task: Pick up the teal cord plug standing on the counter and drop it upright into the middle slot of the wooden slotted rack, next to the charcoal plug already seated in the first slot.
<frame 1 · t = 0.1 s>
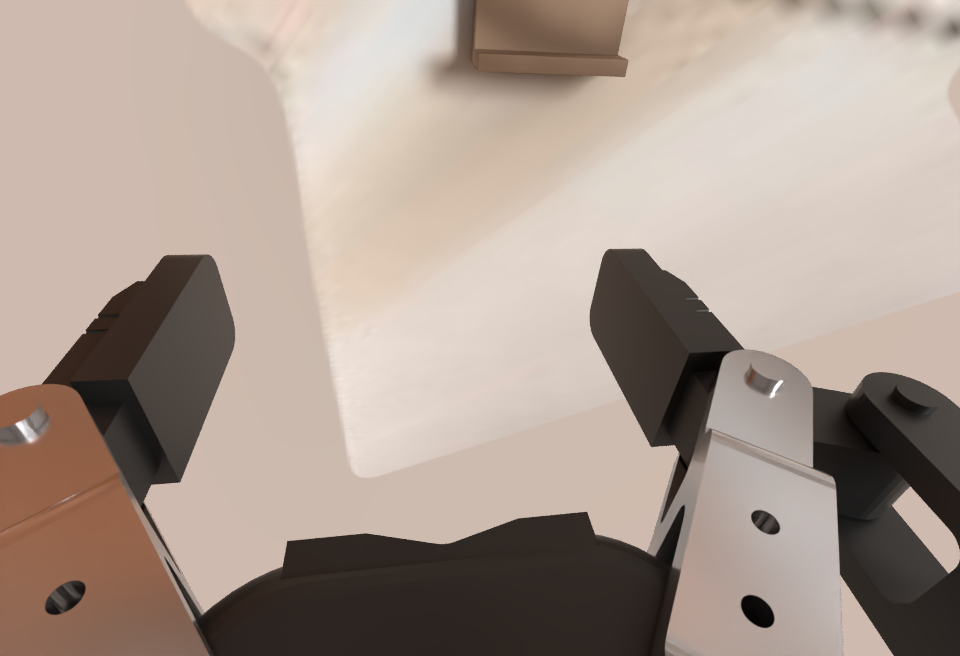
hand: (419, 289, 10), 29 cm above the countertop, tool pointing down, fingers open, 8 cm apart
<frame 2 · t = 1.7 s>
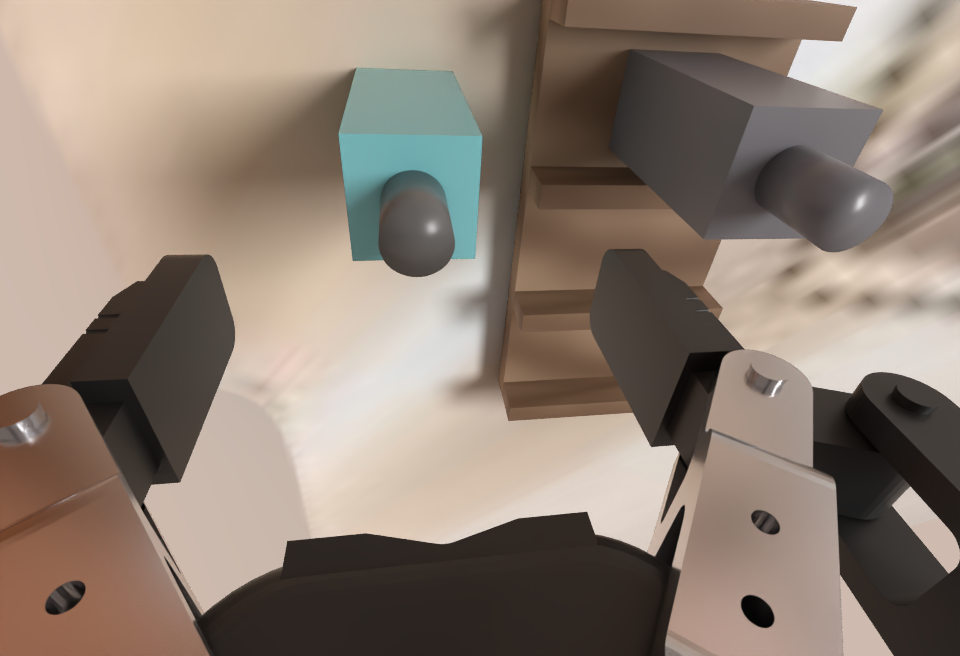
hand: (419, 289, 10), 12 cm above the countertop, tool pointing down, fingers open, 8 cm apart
teal plug: (406, 119, 20), on the countertop
wooden slotted rack: (615, 230, 24), on the countertop
charcoal plug: (661, 102, 19), point 1 cm above the countertop, touching wooden slotted rack
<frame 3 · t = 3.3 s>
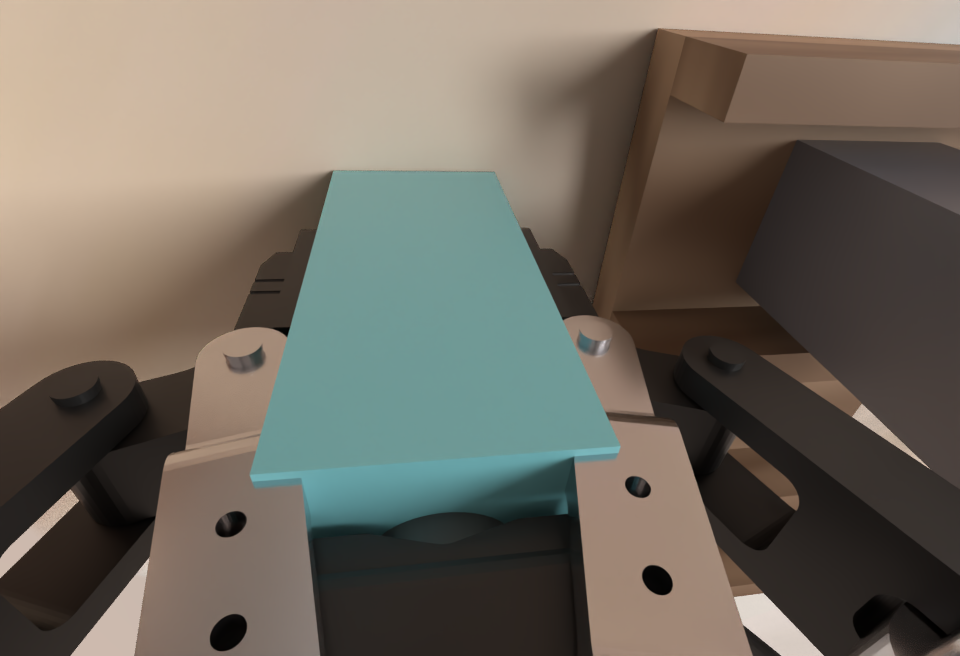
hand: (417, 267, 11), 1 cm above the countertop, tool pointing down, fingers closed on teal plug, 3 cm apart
teal plug: (417, 243, 12), on the countertop, touching gripper
wooden slotted rack: (716, 372, 17), on the countertop
charcoal plug: (830, 216, 12), point 1 cm above the countertop, touching wooden slotted rack
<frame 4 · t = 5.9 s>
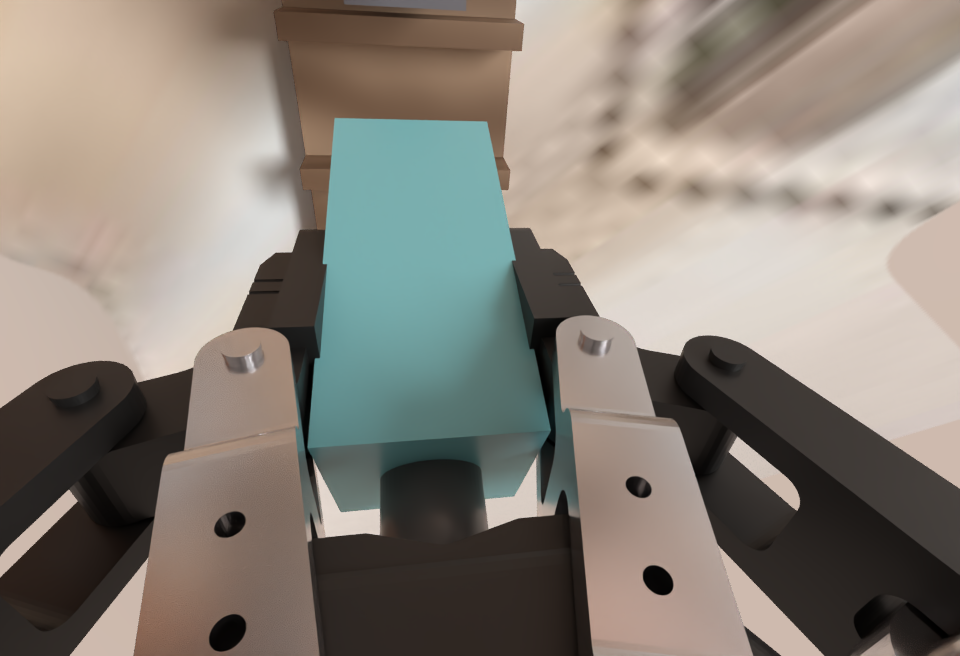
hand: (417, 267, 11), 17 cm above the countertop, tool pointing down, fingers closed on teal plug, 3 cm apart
teal plug: (413, 180, 13), point 14 cm above the countertop, tilted 19°, touching gripper
wooden slotted rack: (404, 95, 25), on the countertop
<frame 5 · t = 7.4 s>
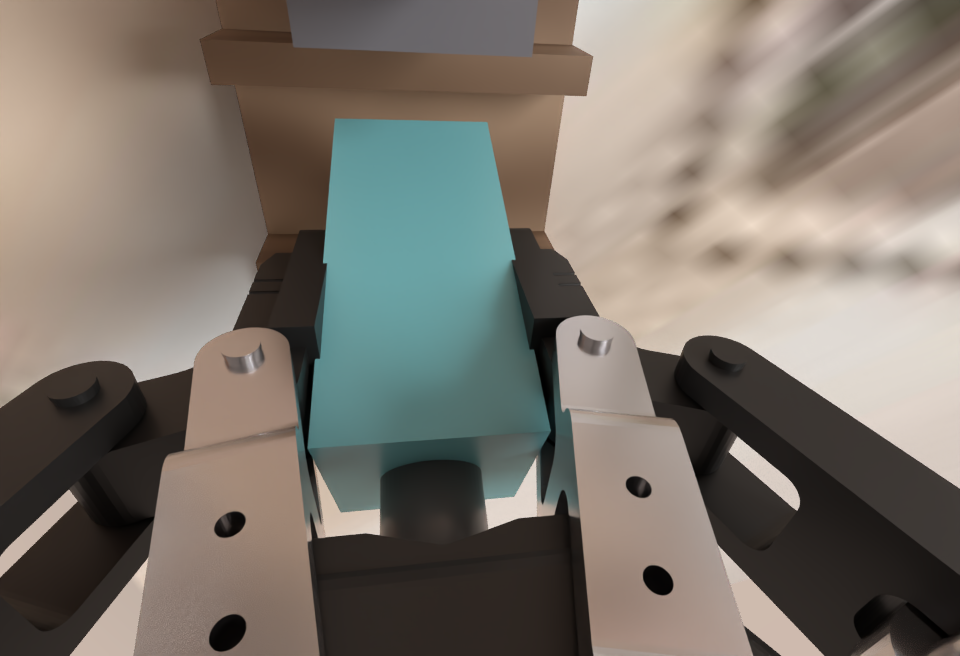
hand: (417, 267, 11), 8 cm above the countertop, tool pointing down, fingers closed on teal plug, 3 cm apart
teal plug: (413, 181, 13), point 5 cm above the countertop, tilted 18°, touching gripper
wooden slotted rack: (408, 149, 17), on the countertop
when the fingers open (4 cm above the countertop, at t = 8.5 s): teal plug stays where it is, resting on wooden slotted rack.
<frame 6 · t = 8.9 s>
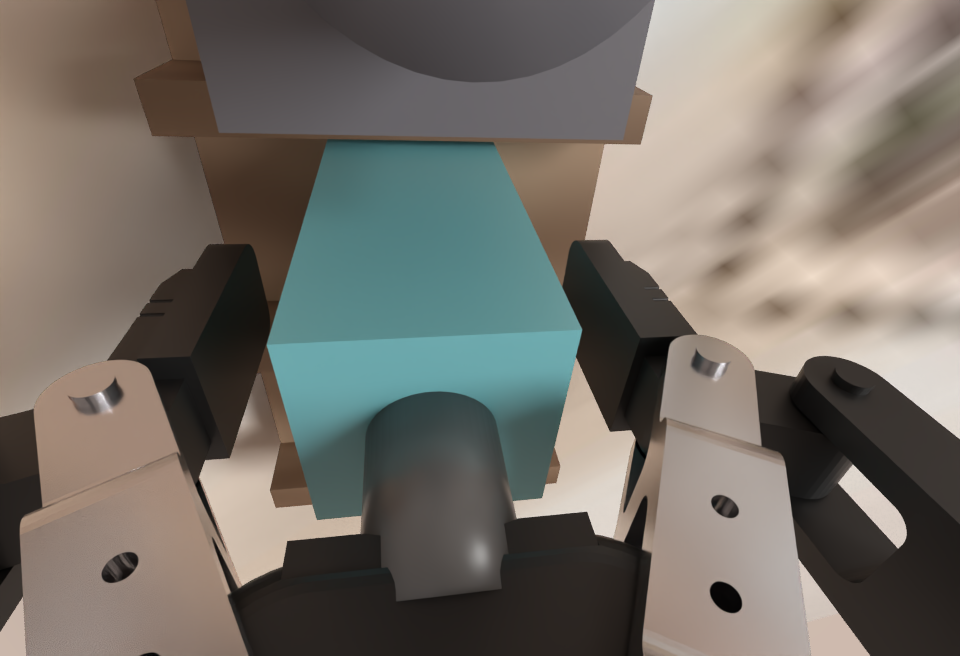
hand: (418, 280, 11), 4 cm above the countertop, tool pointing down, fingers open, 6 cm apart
teal plug: (412, 193, 13), point 1 cm above the countertop, touching wooden slotted rack
wooden slotted rack: (412, 199, 14), on the countertop
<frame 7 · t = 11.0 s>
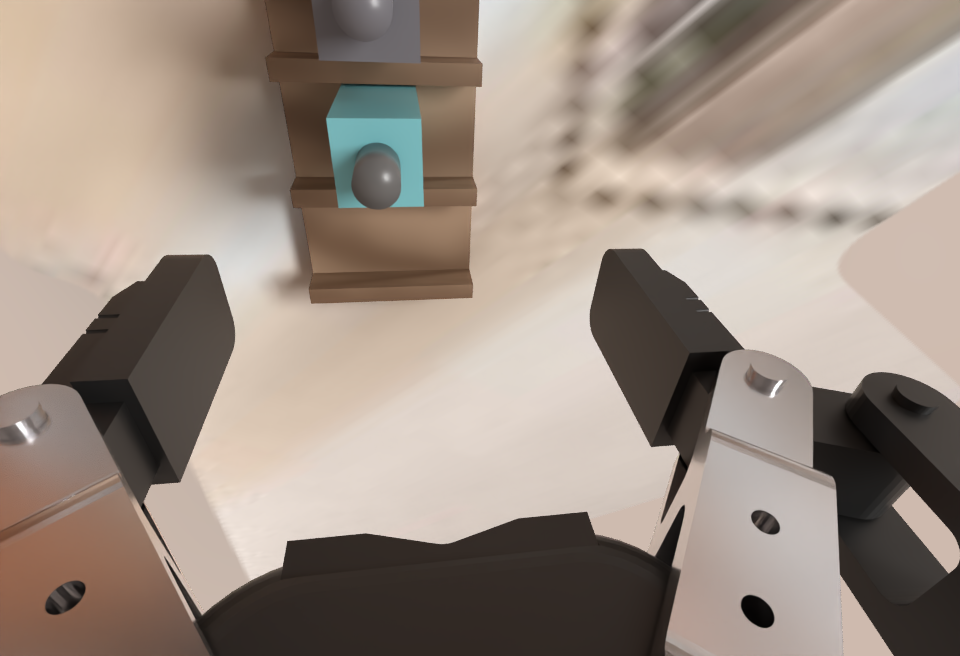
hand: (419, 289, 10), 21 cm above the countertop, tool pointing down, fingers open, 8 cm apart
teal plug: (382, 116, 26), point 1 cm above the countertop, touching wooden slotted rack
wooden slotted rack: (383, 123, 28), on the countertop
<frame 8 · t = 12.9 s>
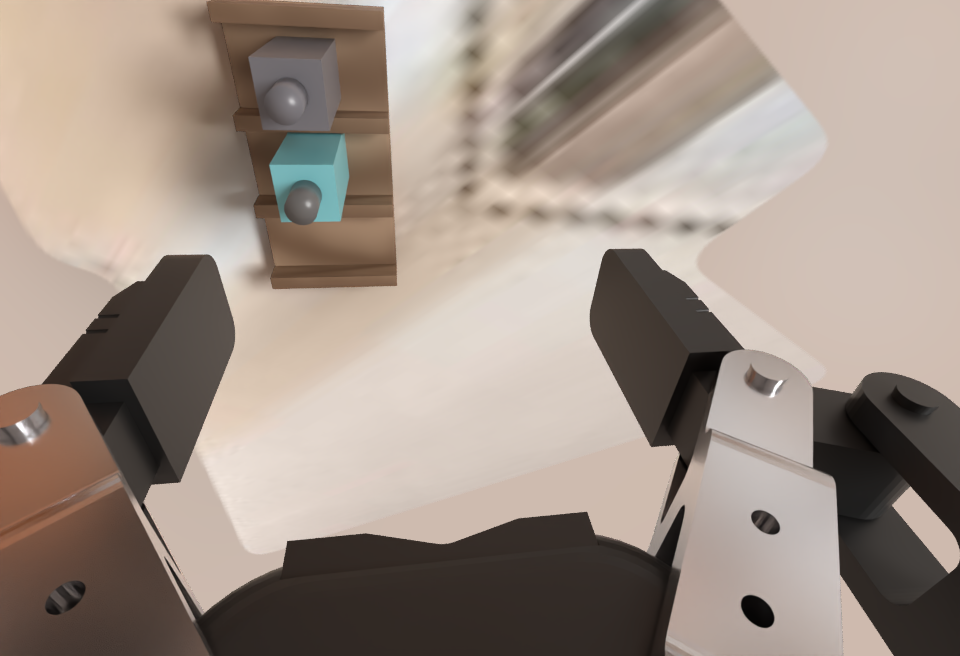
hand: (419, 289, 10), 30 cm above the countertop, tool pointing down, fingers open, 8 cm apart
teal plug: (321, 152, 36), point 1 cm above the countertop, touching wooden slotted rack
wooden slotted rack: (324, 155, 37), on the countertop
charcoal plug: (310, 68, 33), point 1 cm above the countertop, touching wooden slotted rack
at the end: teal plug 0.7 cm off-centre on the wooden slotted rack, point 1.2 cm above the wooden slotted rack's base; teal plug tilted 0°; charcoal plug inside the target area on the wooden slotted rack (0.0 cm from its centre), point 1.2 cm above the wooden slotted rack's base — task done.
